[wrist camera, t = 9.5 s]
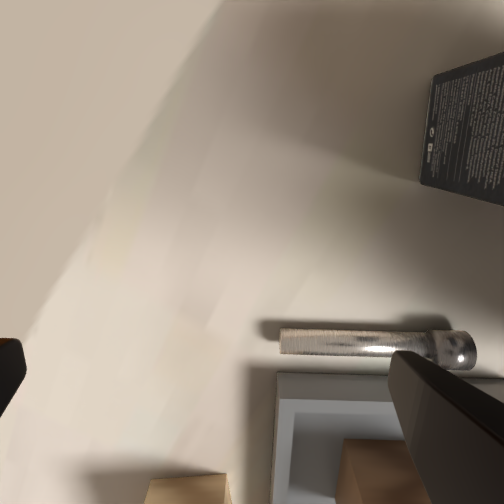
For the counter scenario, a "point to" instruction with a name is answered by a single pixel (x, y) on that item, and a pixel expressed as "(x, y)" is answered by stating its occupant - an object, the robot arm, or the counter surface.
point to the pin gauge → (383, 345)
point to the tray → (330, 428)
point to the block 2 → (378, 474)
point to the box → (466, 131)
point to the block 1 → (189, 490)
